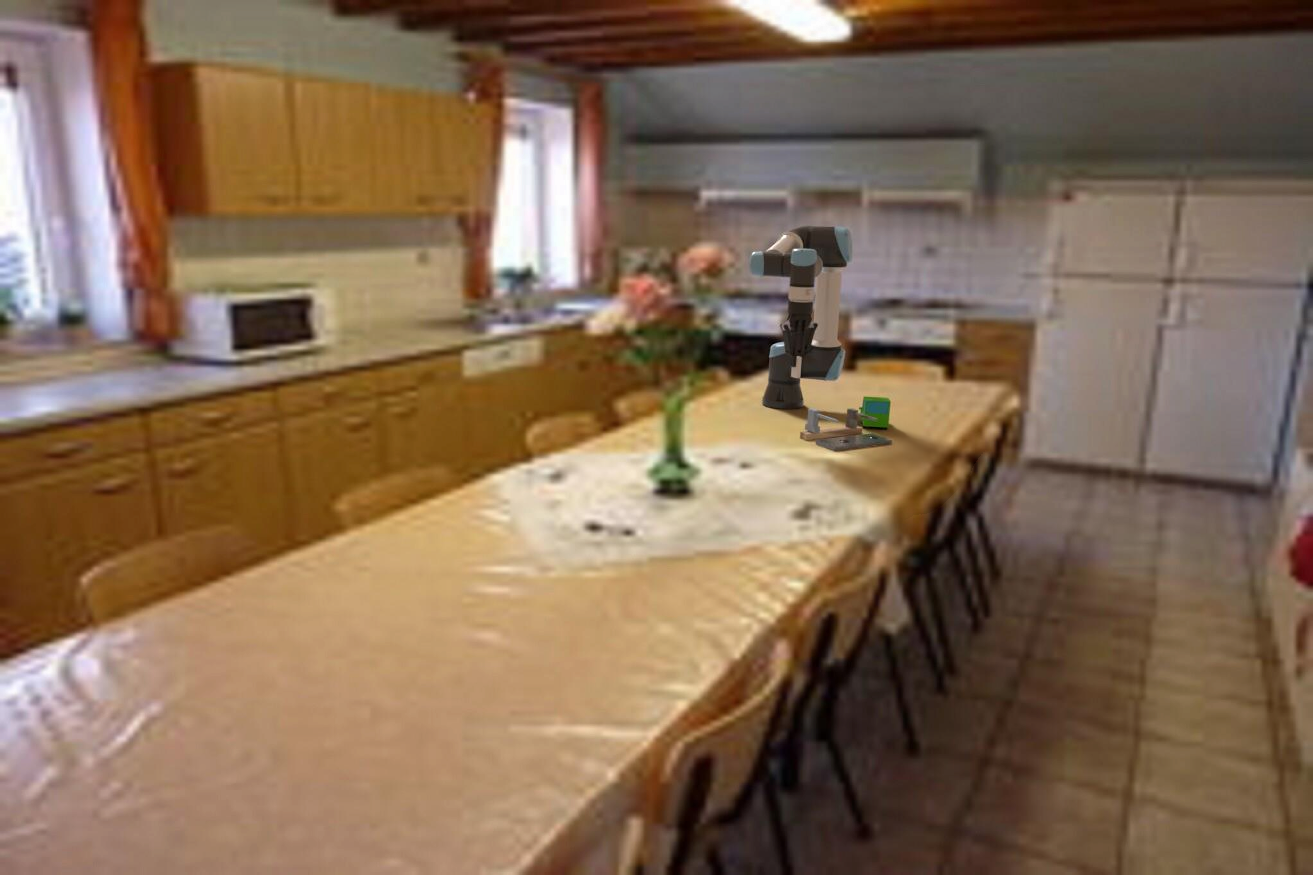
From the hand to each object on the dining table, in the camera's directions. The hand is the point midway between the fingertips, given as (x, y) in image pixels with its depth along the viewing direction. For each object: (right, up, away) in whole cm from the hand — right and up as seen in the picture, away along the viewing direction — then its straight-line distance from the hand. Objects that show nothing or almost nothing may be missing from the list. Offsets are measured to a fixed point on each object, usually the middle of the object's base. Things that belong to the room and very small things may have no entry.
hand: (795, 377), depth 292 cm
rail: (+16, -19, +9) cm, 26 cm away
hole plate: (+19, -21, +3) cm, 28 cm away
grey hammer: (+9, -18, +5) cm, 20 cm away
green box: (+31, -15, +29) cm, 44 cm away
